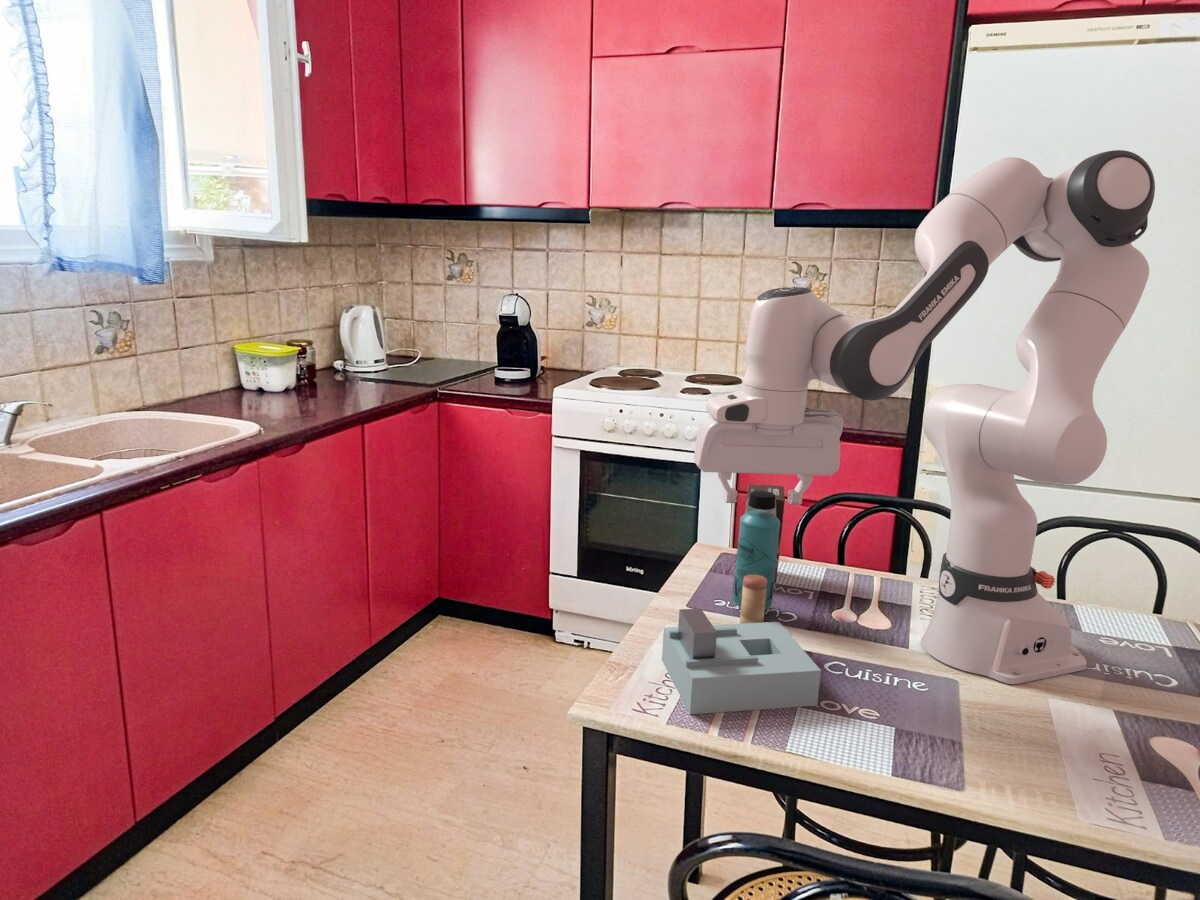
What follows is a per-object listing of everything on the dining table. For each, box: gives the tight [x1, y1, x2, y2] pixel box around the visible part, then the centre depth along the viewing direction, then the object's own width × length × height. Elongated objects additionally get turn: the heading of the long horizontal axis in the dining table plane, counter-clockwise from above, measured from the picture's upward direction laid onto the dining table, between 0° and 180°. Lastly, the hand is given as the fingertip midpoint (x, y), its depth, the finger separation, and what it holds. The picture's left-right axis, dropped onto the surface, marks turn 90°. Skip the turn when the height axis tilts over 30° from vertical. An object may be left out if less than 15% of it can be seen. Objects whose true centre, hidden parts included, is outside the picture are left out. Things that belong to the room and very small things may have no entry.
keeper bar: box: [677, 608, 717, 660], centre depth 111 cm, size 3×7×4 cm, turn 10°
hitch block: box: [661, 621, 822, 715], centre depth 113 cm, size 17×14×6 cm
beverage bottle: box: [732, 491, 780, 611], centre depth 133 cm, size 6×7×20 cm
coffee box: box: [744, 483, 786, 590], centre depth 147 cm, size 9×6×16 cm
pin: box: [739, 574, 767, 624], centre depth 124 cm, size 3×3×10 cm
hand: (762, 502), depth 120 cm, fingers open, 8 cm apart
